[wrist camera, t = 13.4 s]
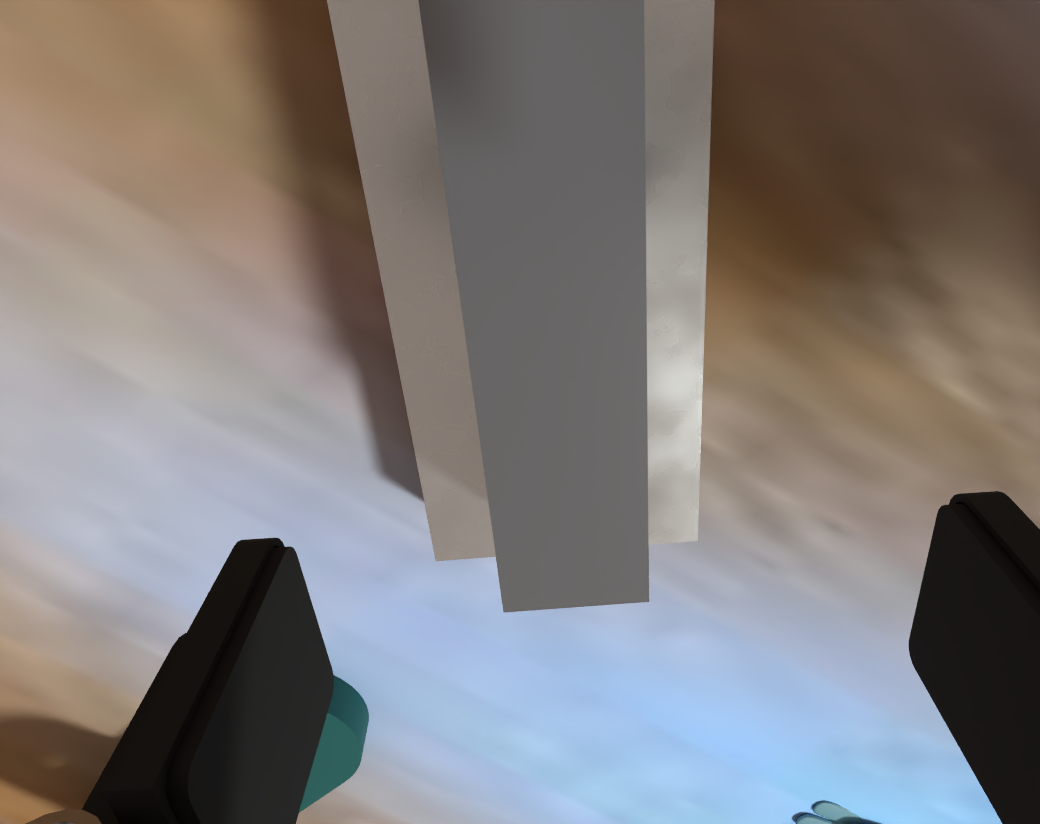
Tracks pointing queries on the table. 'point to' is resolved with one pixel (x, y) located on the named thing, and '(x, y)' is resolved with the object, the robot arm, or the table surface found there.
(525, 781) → the table surface
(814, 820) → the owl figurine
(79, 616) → the table surface
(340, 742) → the bracket
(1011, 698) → the robot arm
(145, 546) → the table surface
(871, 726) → the table surface
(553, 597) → the grey bar
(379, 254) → the mounting plate
